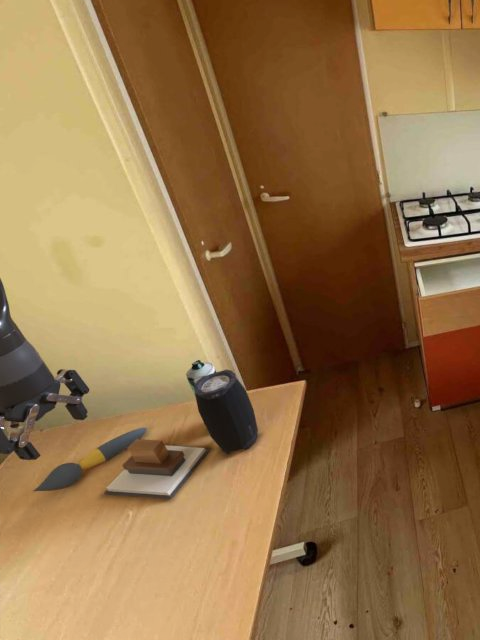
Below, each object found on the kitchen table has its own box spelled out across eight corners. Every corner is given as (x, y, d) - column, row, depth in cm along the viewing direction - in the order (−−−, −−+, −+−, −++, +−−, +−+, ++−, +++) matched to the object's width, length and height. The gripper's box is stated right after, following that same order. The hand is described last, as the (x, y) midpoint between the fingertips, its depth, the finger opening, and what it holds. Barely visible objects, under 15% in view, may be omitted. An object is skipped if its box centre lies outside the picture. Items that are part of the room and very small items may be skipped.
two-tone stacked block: (172, 477, 92) (159, 454, 89) (127, 474, 93) (112, 451, 89) (187, 459, 96) (175, 437, 93) (144, 456, 97) (130, 434, 93)
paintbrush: (139, 426, 106) (130, 412, 103) (151, 433, 104) (143, 419, 102) (36, 497, 90) (24, 483, 87) (49, 506, 88) (37, 491, 86)
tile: (104, 494, 90) (101, 490, 90) (150, 446, 101) (148, 442, 100) (170, 499, 89) (167, 495, 89) (210, 450, 100) (208, 446, 99)
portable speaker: (211, 447, 101) (181, 386, 92) (250, 420, 108) (226, 361, 99) (230, 464, 97) (201, 402, 88) (269, 435, 104) (246, 375, 95)
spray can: (230, 429, 105) (203, 369, 96) (206, 432, 104) (176, 371, 95) (239, 412, 110) (214, 353, 101) (216, 415, 109) (189, 355, 100)
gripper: (35, 341, 76) (77, 406, 84) (-67, 402, 63) (-6, 471, 71) (73, 343, 76) (113, 408, 83) (-21, 405, 63) (35, 474, 71)
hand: (58, 437), depth 77 cm, fingers open, 8 cm apart
